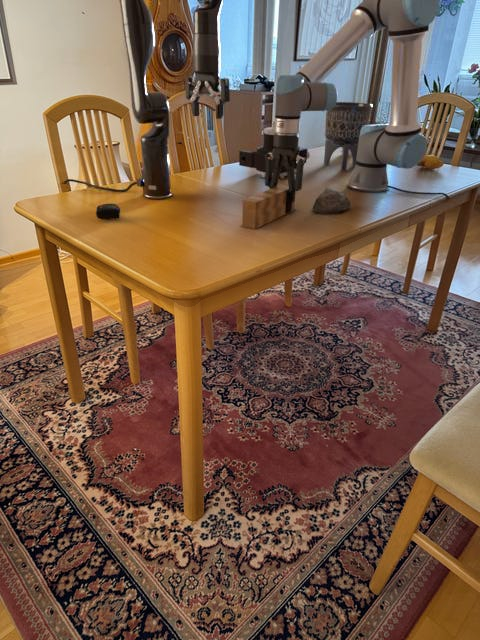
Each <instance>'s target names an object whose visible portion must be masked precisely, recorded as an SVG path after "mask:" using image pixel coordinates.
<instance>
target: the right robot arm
mask: <svg viewBox="0 0 480 640" xmlns="http://www.w3.org/2000/svg"><path fill="white" fill-rule="evenodd" d="M440 1H441V0H362V1H361V2H360V3H359V4H358V5H357V6H356V8H355V9H353V10H352V11H351V13H350V16H349V19H348V20H347V21H346V22H345V23H344V24H343V26H341V27H340V28H339V29H338V30H337V31H336V32H335V33H334V34H333V36H331V37H330V38H329V39H328V41H327V42H326V43H325V44H324V45H323V46H321V48H320V49H319V50H318V51H317V52H316V53H314V55H313V56H312V57H310V59H309V60H308V61H307V62H306V63H305V64H304V65H303V66H302V67H301V68H300V69H299V70H298V71H297V72H296V73H295V74H281V75H279V76H278V77H277V80H276V89H275V106H274V107H275V109H274V121H275V126H274V131H275V132H276V134H275V135H274V143H273V146H274V149H273V151H272V153H267V154H265V155H264V156H265V160H266V170H265V177H264V178H265V179H264V186H266V187H268V188H269V189H272V188H274V187H277V186H278V183H279V179H280V172H281V168H282V167H283V166H285V168H286V170H287V175H286V176H287V177H286V178H287V185H289V191H288V192H287V198H286V211H285V213H287V214H289V213H291V212H293V211H292V202H294V201H296V193H297V192H299V191H301V190H302V186H303V177H304V168H305V167H304V166H305V164H306V163H305V161H306V162H307V160H306V158H302V157H300V156H299V155H298V151H297V149H298V146H299V140H300V139H299V138H300V135H299V133H300V130H301V129H300V128H301V127H300V126H301V115H302V112H326V110H331V109H332V108H333V107H334V106H335V105H336V102H338V96H339V94H338V93H339V92H338V89H337V87H336V85H335V84H333V83H331V82H324V81H325V79H326V78H327V77H329V76H330V74H331V73H332V72H333V71H334V70H335V69H336V68H337V67H339V66H340V64H341V63H342V62H344V60H345V59H346V58H347V57H348V56H349V55H351V53H352V52H353V51H354V50H355V49H357V47H358V46H359V45H360V44H361V43H362V42H363V41H364V40H365V39H370V38H372V36H373V35H375V34H376V33H377V32H379V31H381V30H384V29H388V34H387V37H388V38H389V39H390V40H391V41H392V64H391V65H392V66H391V87H390V91H391V93H390V112H389V113H390V114H389V116H390V117H389V123H383V124H382V123H381V124H380V123H379V124H369V125H364V126H363V127H362V128H361V131H360V136H359V142H358V150H357V158H356V165H355V166H354V167H353V171H351V174H350V176H349V179H348V182H347V187H348V188H349V189H351V190H354V191H358V192H363V193H364V192H365V193H382V192H386V191H388V189H392V190H396V191H397V192H398V191H399V192H403V193H406V194H412V195H413V194H415V195H430V196H437V195H441V196H444V197H446V198H447V199H450V196H449V195H448V194H447V193H445V192H430V191H429V192H427V191H424V192H423V191H411V190H405V189H401V188H398V187H395V186H392V185H389V178H388V173H387V172H388V171H387V166H391V167H396V168H397V169H405V170H409V169H412V168H414V167H416V166H418V165H417V164H418V163H419V162H420V160H421V159H422V158H423V156H426V155H425V154H426V152H427V149H428V139H427V138H426V136H425V135H424V134H423V133H422V124H421V123H420V122H419V121H418V108H419V95H420V81H421V67H422V53H423V52H422V51H423V39H424V37H425V36H426V35H427V34H428V32H429V29H430V25H431V24H432V23H433V22H434V21H435V19H436V15H438V13H439V10H440V4H441V3H440ZM273 158H274V159H275V165H274V167H275V168H274V172H273ZM295 160H297V162H296V163H297V167H296V173H295V172H294V162H295ZM272 172H273V176H272Z"/></svg>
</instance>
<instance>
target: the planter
mask: <svg viewBox="0 0 480 640" xmlns="http://www.w3.org/2000/svg"><path fill="white" fill-rule="evenodd" d="M373 107H374V106H373V104H372V103H367V102H353V101H337V102H336V105H335V106H334V107H333V108H332V109H331V110H326V111H325V124H324V125H325V126H324V139H325V144H324V156H323V157H324V158H323V165H325V166H328V165H330V163H331V158H332V156H333V154H334V153H335V151H336V150H337V149H340V148H341V149H342V152H341V166H340V170H341V172H345V171H347V167H348V166H347V165H348V159H349V154H348V152H349V150H350V151H351V153H352V155H351V157H352V158H351V159H352V160H351V161H352V166H353V167H355V165H356V158H357V150H358V142H359V136H360V131H361V128H362V127H363V126H364V125H370V121H371V116H372V112H373Z"/></svg>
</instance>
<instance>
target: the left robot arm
mask: <svg viewBox="0 0 480 640" xmlns="http://www.w3.org/2000/svg"><path fill="white" fill-rule="evenodd" d="M222 6H223V0H203V3H202V6H200V7H197V8H195V9H194V10H193V13H192V25H193V26H192V30H193V32H192V33H193V35H192V36H193V37H192V63H193V65H192V66H193V68H192V69H193V72H194V76H191V75H190V76H185V99H186V100H189V101H190V102H191V113H192V116H193V117H199V116H200V102H199V101H200V99H201V97H202V96H204V95H208V96H211V97H212V99H214V102H215V103H216V104H215V118H216V119H217V120H220V119H223V117H224V106H225V105H224V104H226V103H229V102H230V100H231V99H230V98H231V96H230V95H231V94H230V79H229V78H228V77H224V78H221V77H220V73H221V41H220V14H221V11H222ZM119 7H120V8H119V9H120V14H121V22H122V23H121V24H122V30H123V38H124V43H125V49H126V57H127V64H128V72H129V74H128V75H129V87H130V103H131V111H132V114H133V117H134V119H135V121H136V122H137V123H138V124H141V125H147V124H151V127H150V129H149V130H147V131H146V132H145V133H143V134H142V135H140V137H139V138H140V139H139V142H140V153H141V164H142V167H140V171H141V172H140V174H141V178H136V181H133V182H132V183H130V184H129V185H128V186H127V187H126V188H123V189H117V188H112V187H111V188H110V187H103V186H99V185H96V184H91V183H89V182H87V181H82V180H78V179H73V178H68V179H66V181H65V180H64V181H63V182H62V185H66V184H67V183H68V182H72V183H78V184H82V185H85V186H86V185H87V186H88V187H91V188H95V189H97V190H102V191H103V190H104V191H111V192H115V193H116V192H117V193H124V192H128V191H129V190H130V189H131V188H132V187H133V186H135V185H136V186H137V187H139V188H142V195H143V196H144V197H145V198H147V199H150V200H163V199H168V198H170V197H172V188H171V187H172V186H171V185H172V183H171V168H170V167H171V165H170V151H169V138H170V105H169V100H168V98H167V96H166V94H165V93H163V92H162V91H147V83H146V80H147V79H146V77H147V70H148V68H149V65H150V62H151V59H152V57H153V54H154V51H155V48H156V34H155V26H154V20H153V19H154V18H153V16H152V13H151V11H150V9H149V7H148V4H147V3H146V1H145V0H119ZM219 86H220V88H219Z"/></svg>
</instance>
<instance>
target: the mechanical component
mask: <svg viewBox="0 0 480 640" xmlns="http://www.w3.org/2000/svg"><path fill="white" fill-rule="evenodd" d="M274 126H275V120H272V126H271V127H265V128H264V129H263V145H262V146H258V147H257V148H256V151H250V150H245V149H241V150H239V153H238V154H239V155H238V157H239V159H238V166H240V167H245V168H250V169H255V173H256V174H257V175H261V177H262V178H265V170H266V160H265V156H264V155H265V154H267V153H272V151H273V149H274V146H273V143H274V135H275V134H276V132H275V131H274ZM297 151H298V155H299V156H300V157H302V158H306V161H305V164H307V160H309V158H310V156H311V154H310V152H309V151H308V148H304V147H301V146H299V145H298V149H297ZM296 162H297V160H295V162H294V174H296V167H297V163H296ZM274 165H275V159H274V158H273V172H274V168H275V167H274ZM273 172H272V176H273ZM285 176H287V170H286V168H285V166H283V167H282V168H281V172H280V176H279V179H285Z"/></svg>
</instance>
